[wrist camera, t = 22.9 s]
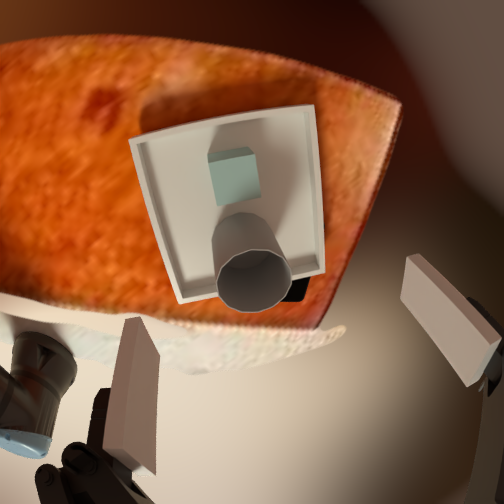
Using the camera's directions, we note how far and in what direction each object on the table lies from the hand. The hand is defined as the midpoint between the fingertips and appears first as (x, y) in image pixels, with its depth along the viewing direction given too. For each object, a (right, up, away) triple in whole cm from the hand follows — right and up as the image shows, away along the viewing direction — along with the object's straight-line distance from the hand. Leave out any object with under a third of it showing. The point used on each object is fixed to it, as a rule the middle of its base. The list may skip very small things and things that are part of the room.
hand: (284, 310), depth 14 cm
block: (-4, +13, +23) cm, 26 cm away
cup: (-3, +4, +28) cm, 28 cm away
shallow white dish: (-4, +10, +27) cm, 29 cm away
